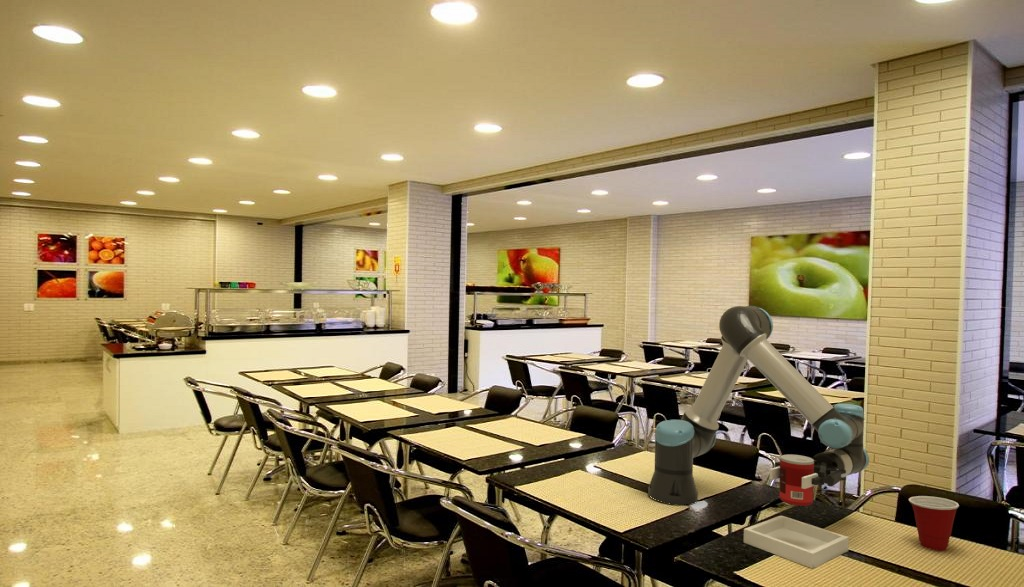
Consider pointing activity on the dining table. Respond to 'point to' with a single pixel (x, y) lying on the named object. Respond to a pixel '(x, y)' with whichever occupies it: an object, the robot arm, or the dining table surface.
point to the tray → (796, 541)
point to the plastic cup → (934, 520)
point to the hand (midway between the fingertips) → (786, 478)
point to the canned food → (795, 479)
